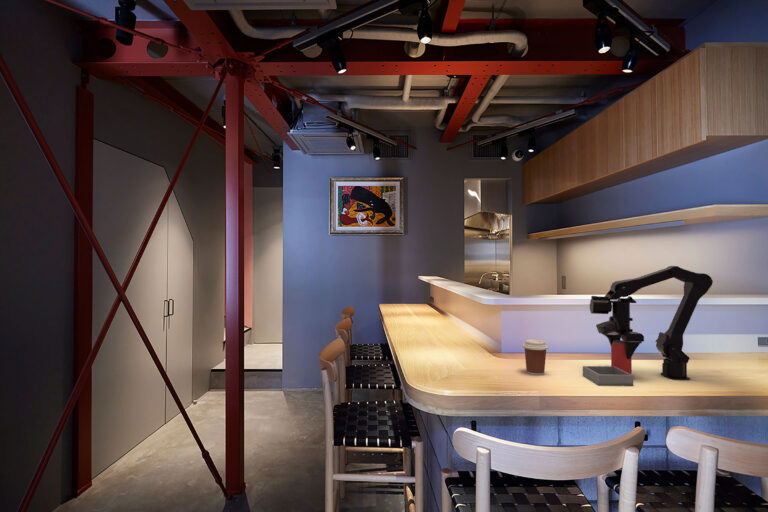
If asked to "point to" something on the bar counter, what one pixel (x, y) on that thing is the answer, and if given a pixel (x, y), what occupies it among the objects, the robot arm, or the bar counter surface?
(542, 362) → the coffee cup
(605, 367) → the tray
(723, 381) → the bar counter surface
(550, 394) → the bar counter surface
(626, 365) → the beer can
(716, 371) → the bar counter surface
